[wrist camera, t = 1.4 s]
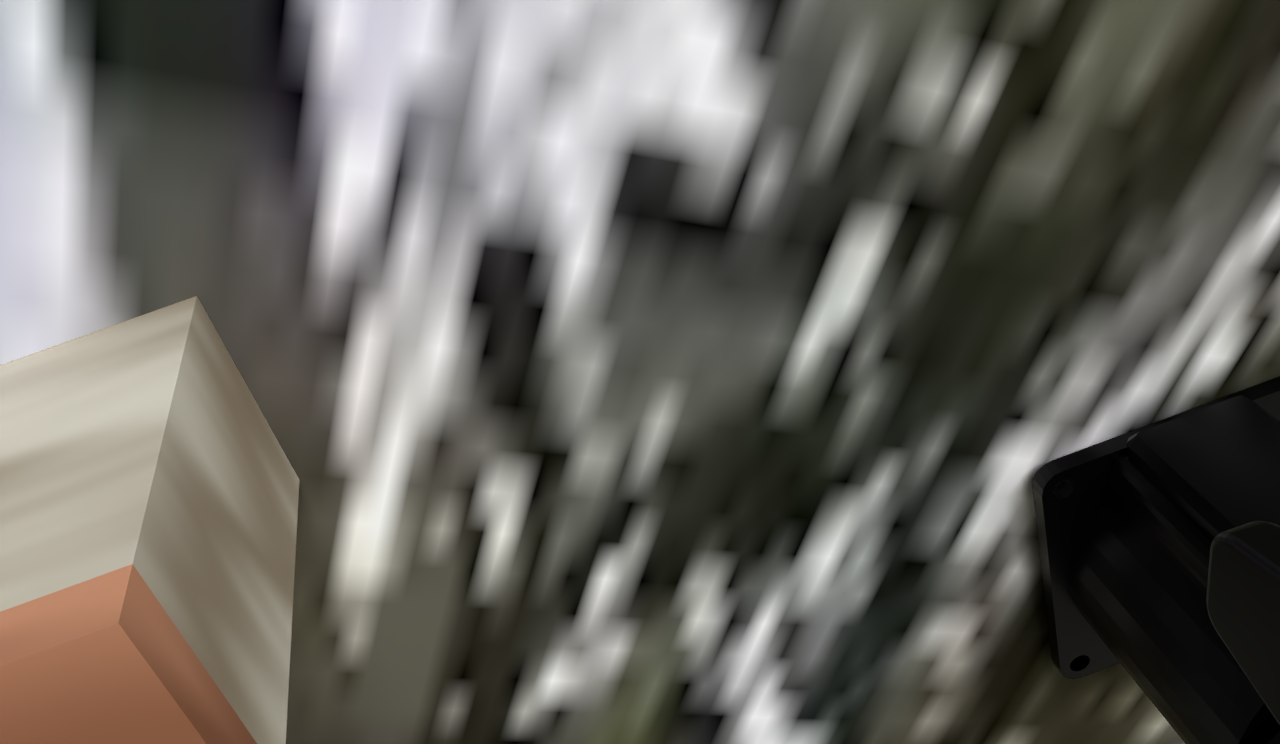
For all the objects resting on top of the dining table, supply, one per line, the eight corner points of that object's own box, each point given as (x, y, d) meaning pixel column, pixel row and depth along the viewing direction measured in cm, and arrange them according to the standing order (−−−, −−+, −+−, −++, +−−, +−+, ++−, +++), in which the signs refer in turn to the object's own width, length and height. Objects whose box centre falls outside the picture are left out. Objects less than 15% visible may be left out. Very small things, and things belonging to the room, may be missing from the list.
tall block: (299, 480, 21) (280, 845, 14) (88, 556, 21) (-32, 961, 14) (196, 295, 19) (117, 624, 12) (-40, 378, 19) (-251, 756, 12)
